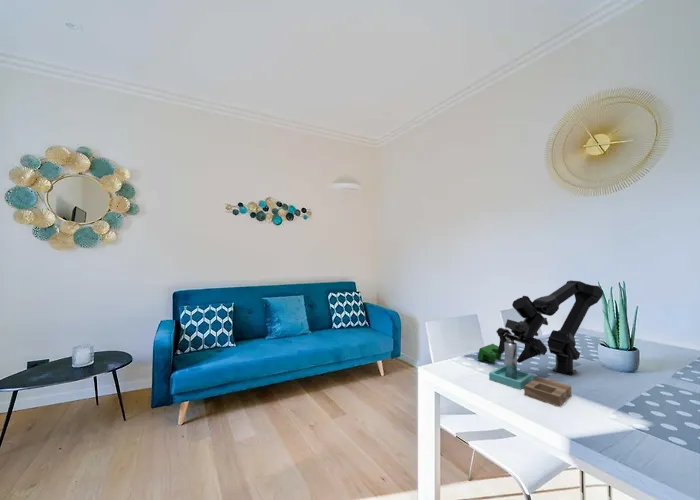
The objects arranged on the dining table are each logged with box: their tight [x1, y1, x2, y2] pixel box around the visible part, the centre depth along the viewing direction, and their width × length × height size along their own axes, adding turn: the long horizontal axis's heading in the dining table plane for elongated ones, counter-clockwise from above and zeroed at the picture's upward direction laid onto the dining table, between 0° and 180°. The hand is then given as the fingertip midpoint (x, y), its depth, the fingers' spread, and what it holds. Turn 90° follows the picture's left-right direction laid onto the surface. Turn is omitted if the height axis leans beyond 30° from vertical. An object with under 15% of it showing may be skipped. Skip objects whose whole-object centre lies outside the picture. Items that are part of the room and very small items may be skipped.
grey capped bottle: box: [504, 339, 518, 380], centre depth 112 cm, size 4×4×14 cm
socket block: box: [523, 376, 572, 407], centre depth 101 cm, size 12×10×3 cm
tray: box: [488, 365, 534, 391], centre depth 112 cm, size 11×11×2 cm
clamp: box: [477, 343, 505, 364], centre depth 133 cm, size 12×6×9 cm, turn 120°
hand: (507, 357), depth 112 cm, fingers open, 9 cm apart
